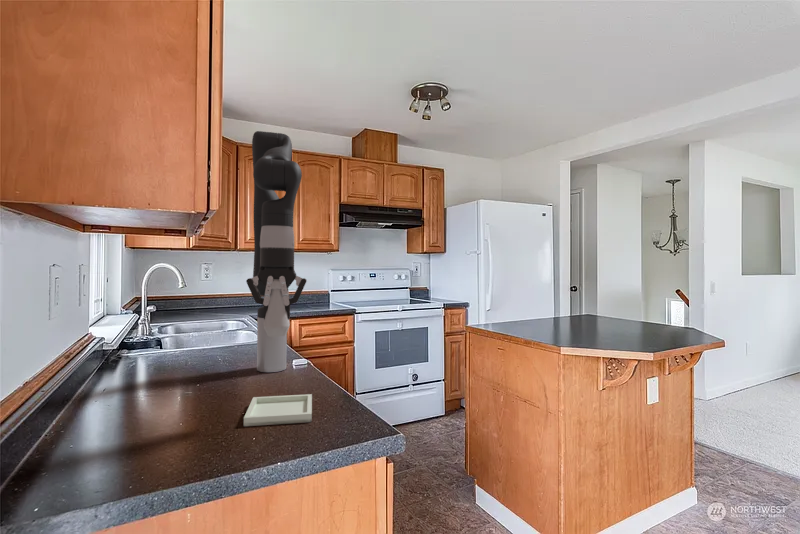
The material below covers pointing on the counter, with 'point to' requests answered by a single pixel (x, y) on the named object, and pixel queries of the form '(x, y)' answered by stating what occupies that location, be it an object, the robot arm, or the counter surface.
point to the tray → (279, 410)
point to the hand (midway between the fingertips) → (276, 321)
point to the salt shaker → (276, 312)
